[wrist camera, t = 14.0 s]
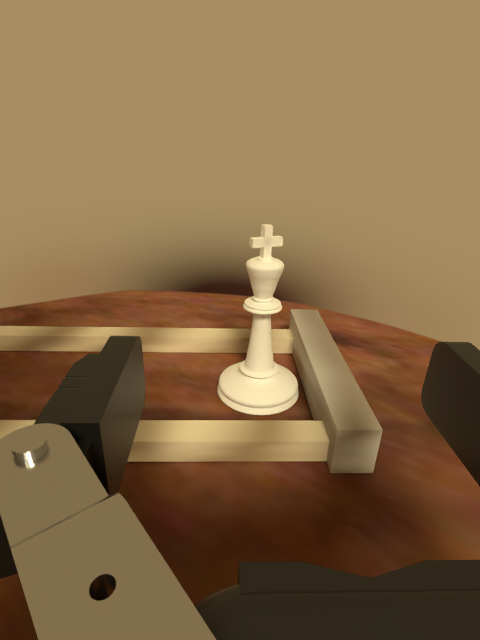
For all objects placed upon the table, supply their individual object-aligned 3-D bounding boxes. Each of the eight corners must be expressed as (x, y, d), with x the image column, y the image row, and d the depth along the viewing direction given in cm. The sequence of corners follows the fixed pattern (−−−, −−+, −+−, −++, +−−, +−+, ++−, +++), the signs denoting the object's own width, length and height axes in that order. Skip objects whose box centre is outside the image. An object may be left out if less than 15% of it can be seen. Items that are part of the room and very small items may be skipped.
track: (-193, 475, 17) (-219, 429, 16) (-19, 335, 29) (-27, 304, 28) (372, 473, 18) (382, 430, 17) (313, 339, 30) (317, 309, 29)
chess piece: (207, 376, 25) (205, 218, 21) (275, 364, 27) (287, 215, 23) (234, 424, 21) (240, 238, 17) (313, 405, 23) (336, 232, 19)
